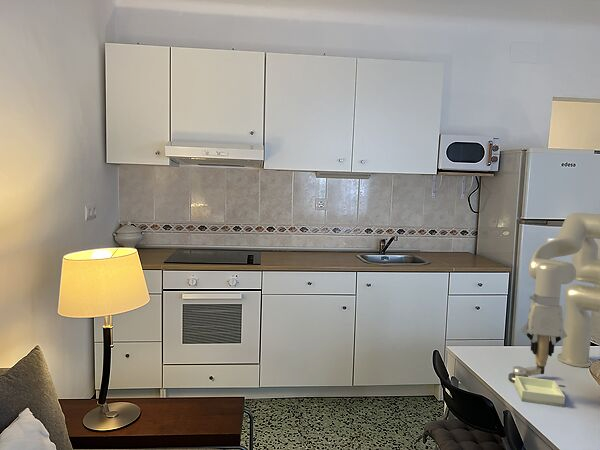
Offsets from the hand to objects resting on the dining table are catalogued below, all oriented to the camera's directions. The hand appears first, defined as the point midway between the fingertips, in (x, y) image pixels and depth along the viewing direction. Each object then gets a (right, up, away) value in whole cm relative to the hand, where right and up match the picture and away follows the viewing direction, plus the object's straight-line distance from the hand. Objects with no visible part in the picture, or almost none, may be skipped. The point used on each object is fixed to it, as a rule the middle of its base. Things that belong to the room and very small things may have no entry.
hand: (541, 353), depth 159 cm
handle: (0, -4, 0) cm, 4 cm away
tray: (0, -15, +2) cm, 15 cm away
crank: (+3, -12, +15) cm, 19 cm away
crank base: (+4, -14, +12) cm, 19 cm away
